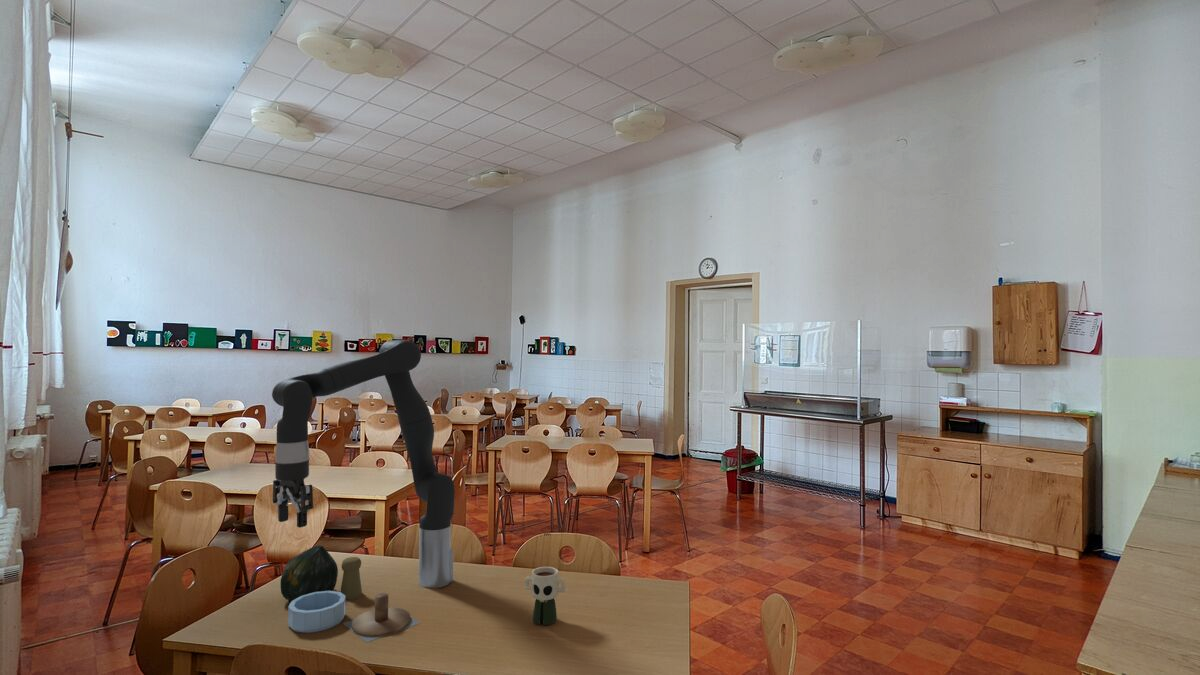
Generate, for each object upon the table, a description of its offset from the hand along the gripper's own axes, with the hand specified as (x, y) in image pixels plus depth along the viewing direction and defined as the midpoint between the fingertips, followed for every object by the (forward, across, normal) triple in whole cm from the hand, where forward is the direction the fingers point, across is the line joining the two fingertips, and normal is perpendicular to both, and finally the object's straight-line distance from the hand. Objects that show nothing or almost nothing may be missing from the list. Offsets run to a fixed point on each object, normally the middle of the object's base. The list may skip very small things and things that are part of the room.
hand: (292, 523), depth 149 cm
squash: (+27, +17, -14) cm, 35 cm away
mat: (+27, -16, -14) cm, 35 cm away
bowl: (+27, -1, -6) cm, 28 cm away
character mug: (+28, -49, -40) cm, 69 cm away
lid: (+27, -16, -14) cm, 34 cm away
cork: (+28, +7, -21) cm, 35 cm away
